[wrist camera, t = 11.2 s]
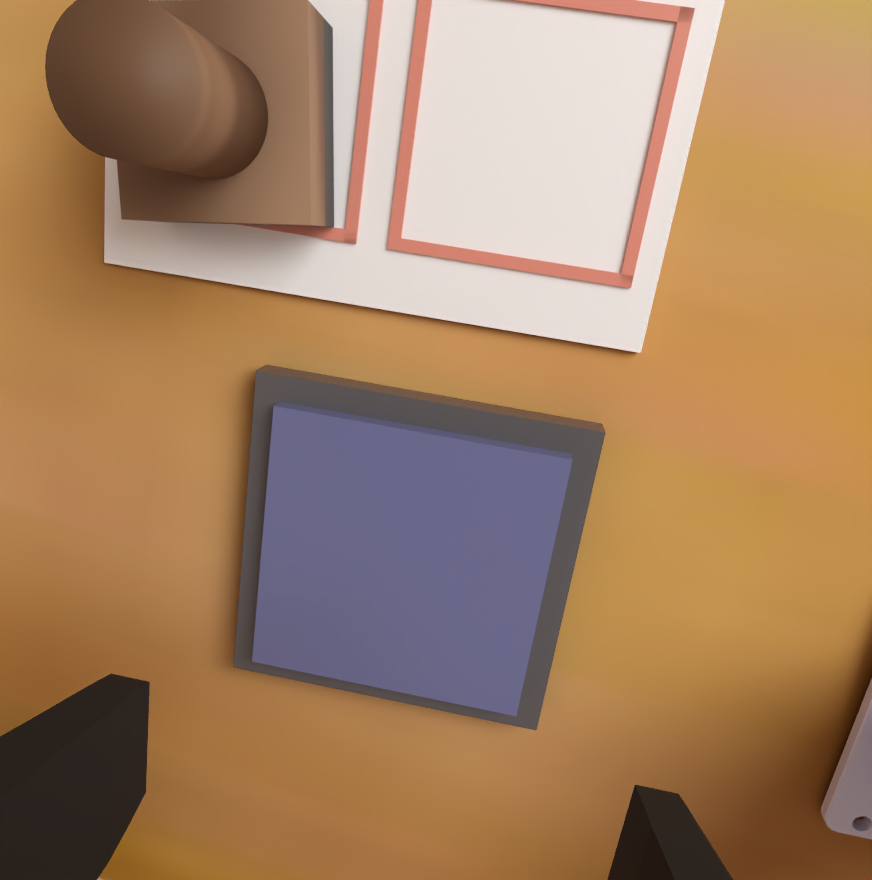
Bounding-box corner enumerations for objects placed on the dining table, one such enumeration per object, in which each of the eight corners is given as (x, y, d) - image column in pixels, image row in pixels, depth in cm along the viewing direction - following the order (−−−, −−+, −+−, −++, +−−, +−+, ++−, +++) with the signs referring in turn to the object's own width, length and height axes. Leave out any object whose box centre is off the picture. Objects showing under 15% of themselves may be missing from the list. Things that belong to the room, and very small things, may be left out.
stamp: (332, 27, 16) (240, -78, 11) (334, 227, 18) (251, 218, 12) (151, 28, 17) (-22, -73, 12) (164, 221, 18) (13, 211, 13)
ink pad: (602, 423, 19) (607, 437, 17) (536, 712, 21) (536, 742, 20) (266, 364, 19) (248, 374, 18) (243, 651, 22) (226, 677, 21)
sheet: (738, -64, 15) (742, -69, 15) (639, 351, 18) (641, 353, 18) (112, -142, 16) (105, -149, 16) (108, 262, 19) (101, 262, 19)
